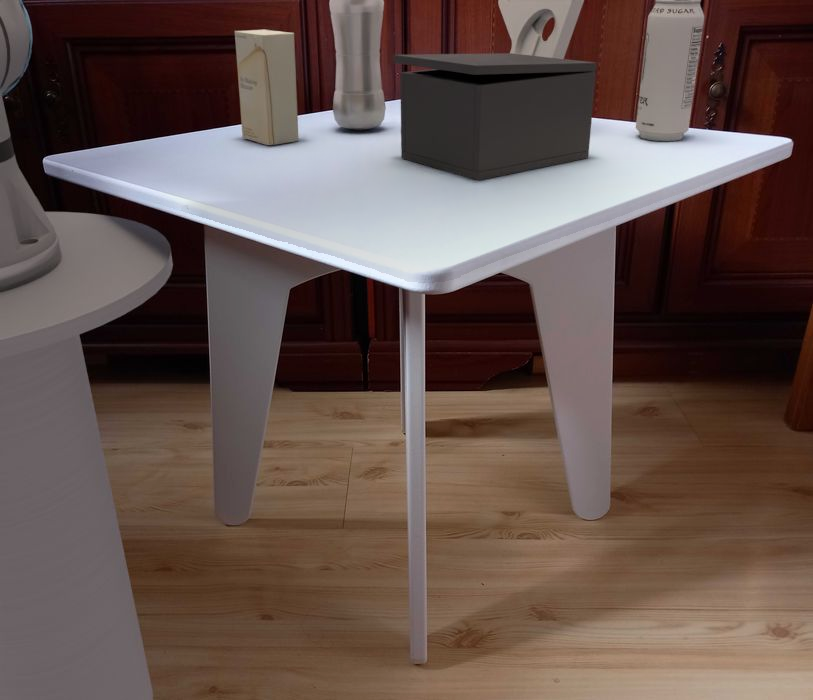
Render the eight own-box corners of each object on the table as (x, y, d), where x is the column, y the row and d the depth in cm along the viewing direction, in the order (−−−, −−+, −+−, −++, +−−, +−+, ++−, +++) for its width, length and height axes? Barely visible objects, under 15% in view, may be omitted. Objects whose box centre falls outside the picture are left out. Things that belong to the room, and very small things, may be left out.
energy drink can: (638, 130, 99) (653, -2, 93) (689, 133, 97) (708, -2, 91) (631, 140, 94) (646, 0, 88) (684, 143, 92) (704, 1, 86)
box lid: (474, 74, 73) (475, 65, 73) (393, 63, 82) (393, 54, 82) (596, 71, 82) (597, 62, 82) (510, 60, 91) (511, 53, 91)
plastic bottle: (349, 123, 106) (342, -47, 97) (395, 126, 103) (392, -47, 94) (323, 131, 101) (314, -47, 92) (371, 135, 98) (366, -48, 89)
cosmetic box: (241, 139, 97) (231, 31, 92) (272, 133, 100) (264, 28, 94) (270, 146, 93) (261, 33, 87) (302, 141, 95) (295, 31, 90)
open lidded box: (478, 180, 78) (481, 85, 74) (401, 158, 87) (400, 72, 83) (588, 158, 86) (596, 71, 82) (507, 139, 95) (510, 61, 91)
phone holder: (446, 117, 109) (448, -30, 101) (510, 111, 113) (517, -31, 105) (514, 140, 95) (522, -29, 87) (585, 132, 99) (599, -31, 91)
